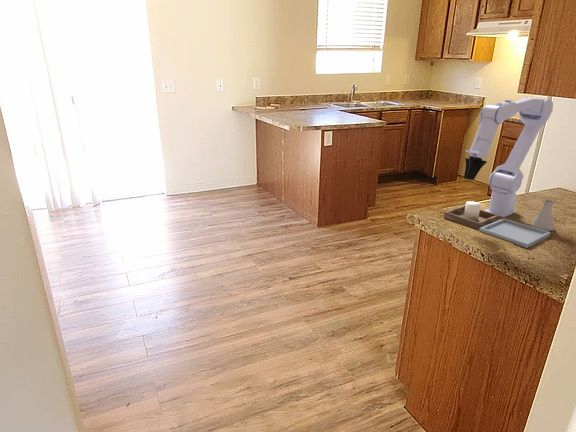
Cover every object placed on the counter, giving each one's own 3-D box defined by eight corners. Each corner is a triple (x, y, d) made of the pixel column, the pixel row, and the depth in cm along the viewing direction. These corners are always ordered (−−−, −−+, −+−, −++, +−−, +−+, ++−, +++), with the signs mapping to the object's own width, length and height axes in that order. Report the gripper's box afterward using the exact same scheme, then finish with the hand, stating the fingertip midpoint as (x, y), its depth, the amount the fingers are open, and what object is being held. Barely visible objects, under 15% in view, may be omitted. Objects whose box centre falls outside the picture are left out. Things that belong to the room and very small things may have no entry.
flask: (557, 232, 142) (565, 205, 139) (534, 231, 144) (541, 203, 140) (549, 225, 149) (556, 198, 145) (527, 223, 150) (534, 197, 147)
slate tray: (503, 221, 151) (503, 218, 151) (549, 236, 139) (550, 232, 139) (478, 231, 142) (479, 227, 142) (526, 248, 130) (527, 244, 130)
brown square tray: (464, 211, 161) (465, 204, 161) (498, 221, 151) (499, 215, 150) (443, 218, 154) (444, 212, 153) (477, 230, 144) (478, 223, 143)
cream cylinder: (468, 215, 156) (470, 200, 154) (480, 219, 152) (483, 204, 150) (460, 218, 153) (463, 203, 151) (473, 222, 149) (476, 206, 147)
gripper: (468, 139, 148) (454, 175, 150) (474, 135, 134) (459, 175, 137) (488, 144, 146) (474, 181, 149) (496, 141, 133) (481, 182, 135)
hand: (468, 179), depth 143 cm, fingers open, 7 cm apart
